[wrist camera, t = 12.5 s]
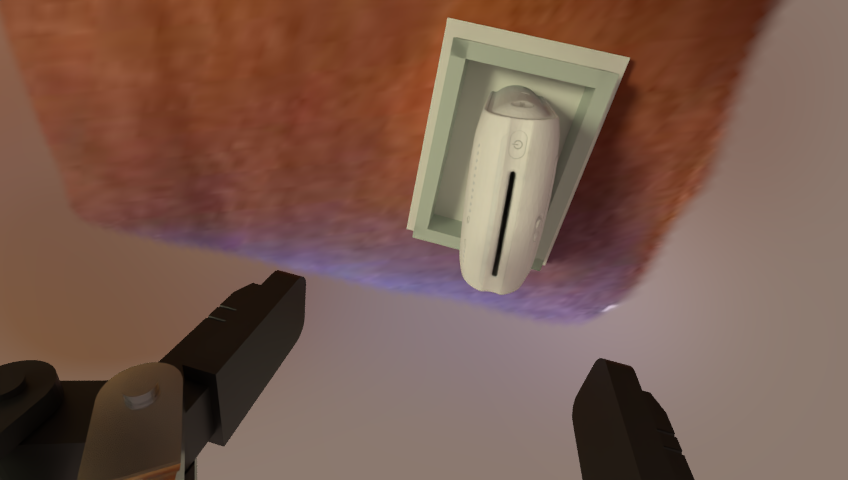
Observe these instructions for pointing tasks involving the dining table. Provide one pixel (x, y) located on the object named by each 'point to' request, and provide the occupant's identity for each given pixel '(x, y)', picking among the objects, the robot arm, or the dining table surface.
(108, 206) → the dining table surface
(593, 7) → the dining table surface
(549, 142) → the photo printer
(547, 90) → the printer dock
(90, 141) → the dining table surface
